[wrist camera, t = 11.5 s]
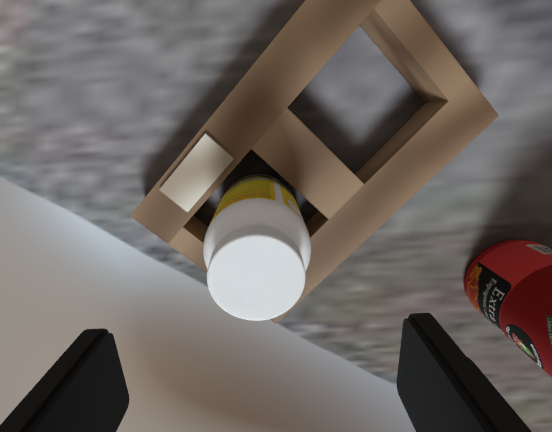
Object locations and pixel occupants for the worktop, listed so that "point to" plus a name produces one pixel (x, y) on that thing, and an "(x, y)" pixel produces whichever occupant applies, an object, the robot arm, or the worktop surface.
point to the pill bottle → (257, 249)
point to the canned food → (516, 294)
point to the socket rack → (308, 148)
